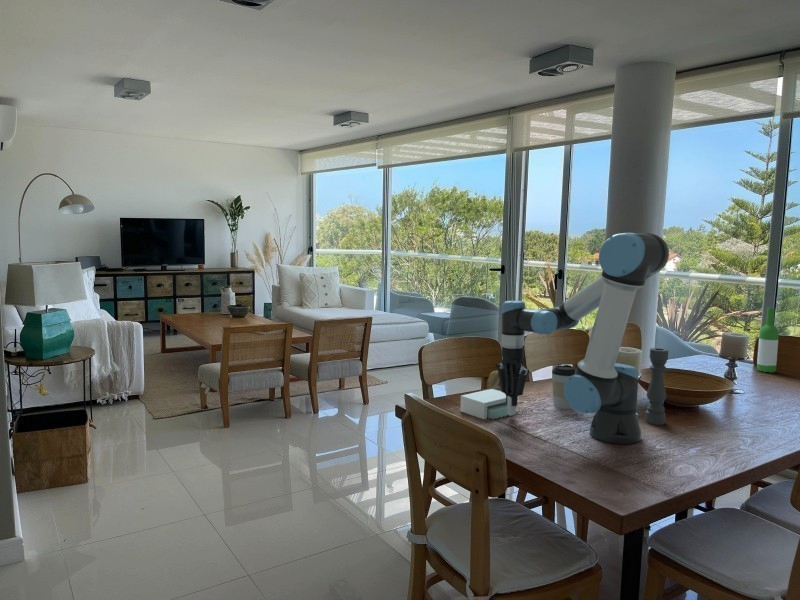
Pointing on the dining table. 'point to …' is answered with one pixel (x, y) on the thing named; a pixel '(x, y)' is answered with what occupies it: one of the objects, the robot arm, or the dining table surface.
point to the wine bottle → (768, 344)
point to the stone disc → (494, 381)
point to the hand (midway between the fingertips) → (511, 414)
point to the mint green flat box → (497, 410)
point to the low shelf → (481, 402)
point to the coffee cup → (561, 385)
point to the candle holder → (657, 387)
